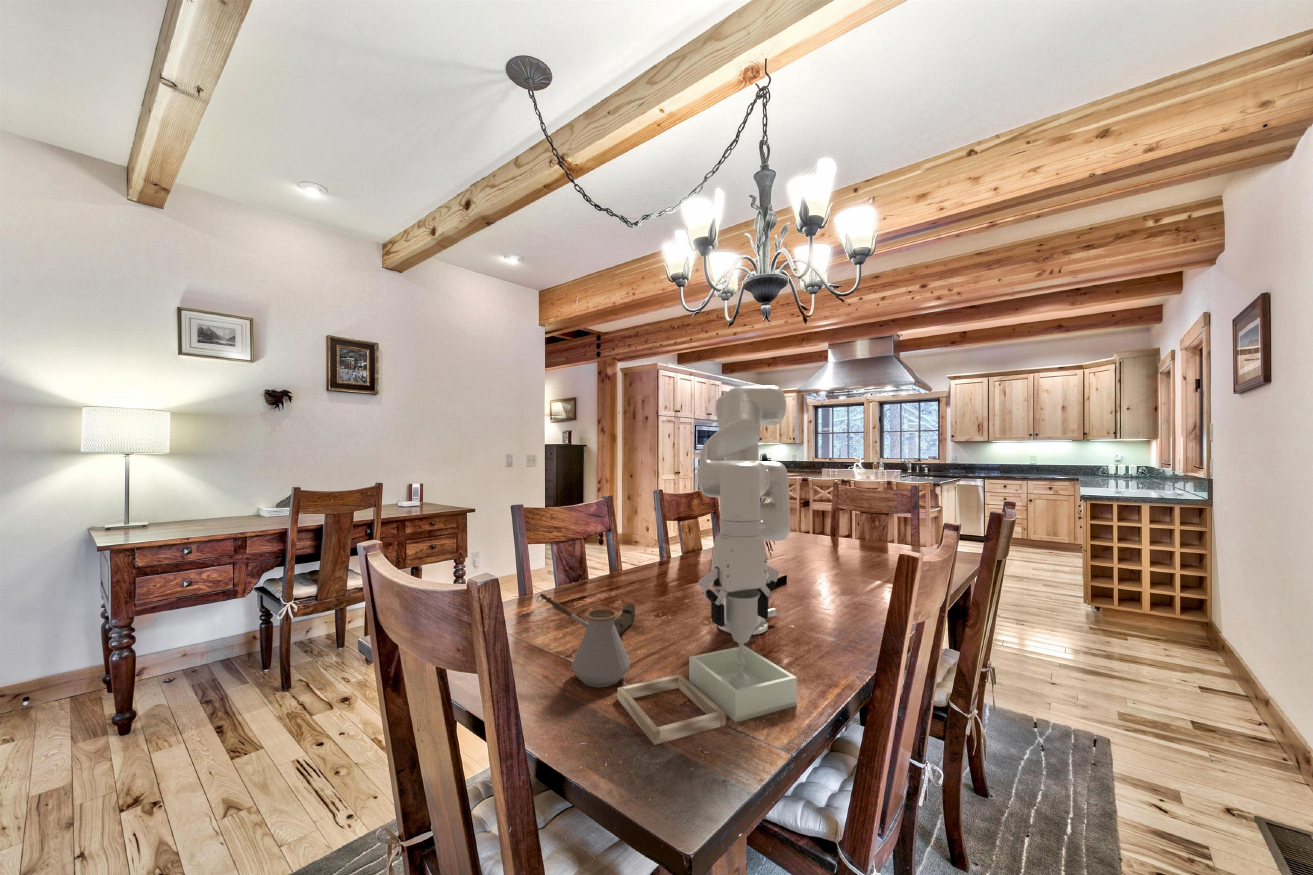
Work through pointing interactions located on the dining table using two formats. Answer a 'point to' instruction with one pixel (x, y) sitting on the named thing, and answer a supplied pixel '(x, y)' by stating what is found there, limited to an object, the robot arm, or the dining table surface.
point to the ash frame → (673, 730)
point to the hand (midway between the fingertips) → (740, 620)
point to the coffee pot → (598, 648)
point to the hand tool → (625, 618)
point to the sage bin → (764, 697)
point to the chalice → (741, 628)
